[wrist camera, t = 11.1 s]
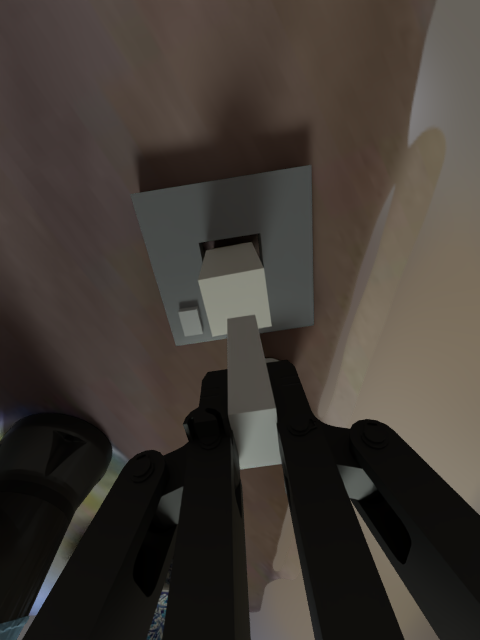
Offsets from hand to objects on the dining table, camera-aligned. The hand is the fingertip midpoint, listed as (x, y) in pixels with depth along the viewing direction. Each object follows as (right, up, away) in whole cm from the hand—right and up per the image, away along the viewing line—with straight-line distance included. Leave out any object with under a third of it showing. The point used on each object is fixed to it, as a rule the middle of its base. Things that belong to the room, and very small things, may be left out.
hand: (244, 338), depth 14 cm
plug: (-1, +8, +15) cm, 17 cm away
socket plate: (-1, +8, +15) cm, 17 cm away
